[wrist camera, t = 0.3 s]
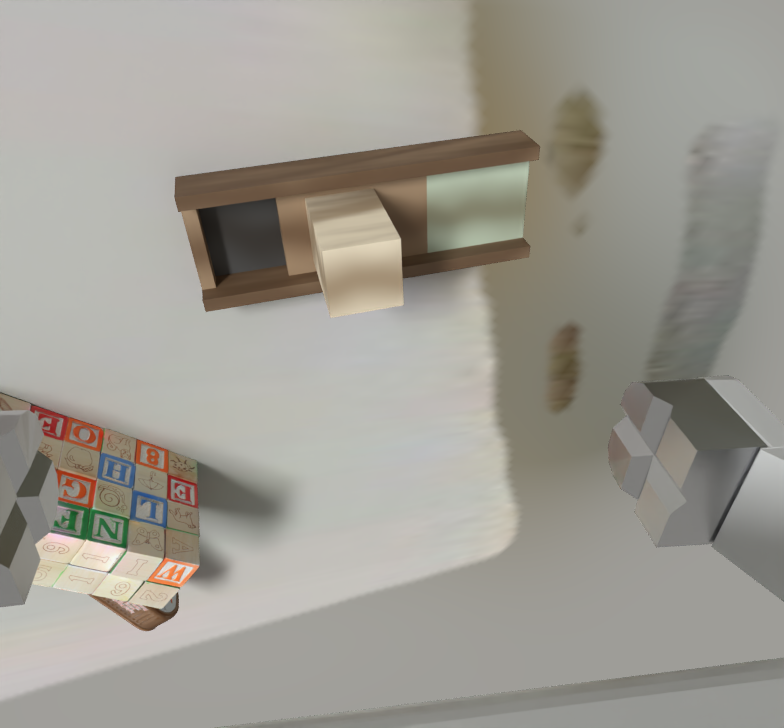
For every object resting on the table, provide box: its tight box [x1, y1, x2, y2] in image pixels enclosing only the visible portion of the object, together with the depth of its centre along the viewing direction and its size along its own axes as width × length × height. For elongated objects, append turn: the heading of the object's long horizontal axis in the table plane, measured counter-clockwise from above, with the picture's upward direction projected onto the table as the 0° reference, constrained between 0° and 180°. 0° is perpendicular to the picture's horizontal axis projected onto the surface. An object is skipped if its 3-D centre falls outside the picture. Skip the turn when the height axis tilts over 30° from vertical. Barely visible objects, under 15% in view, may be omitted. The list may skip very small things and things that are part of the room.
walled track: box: [175, 130, 540, 312], centre depth 48 cm, size 9×26×4 cm, turn 93°
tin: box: [88, 592, 179, 631], centre depth 62 cm, size 15×3×8 cm, turn 22°
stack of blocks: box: [0, 393, 200, 609], centre depth 52 cm, size 21×6×12 cm, turn 50°
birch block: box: [305, 188, 404, 318], centre depth 45 cm, size 5×5×8 cm
